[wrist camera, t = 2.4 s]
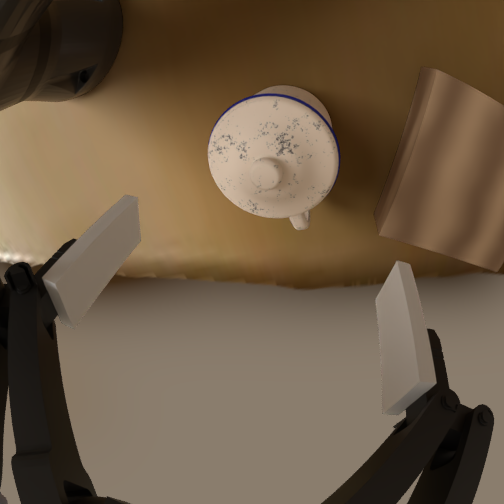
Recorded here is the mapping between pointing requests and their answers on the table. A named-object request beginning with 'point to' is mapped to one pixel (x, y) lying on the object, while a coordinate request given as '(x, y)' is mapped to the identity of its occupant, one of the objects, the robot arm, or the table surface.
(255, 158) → the teacup with lid
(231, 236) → the table surface
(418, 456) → the robot arm
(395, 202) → the wooden square block
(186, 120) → the table surface
